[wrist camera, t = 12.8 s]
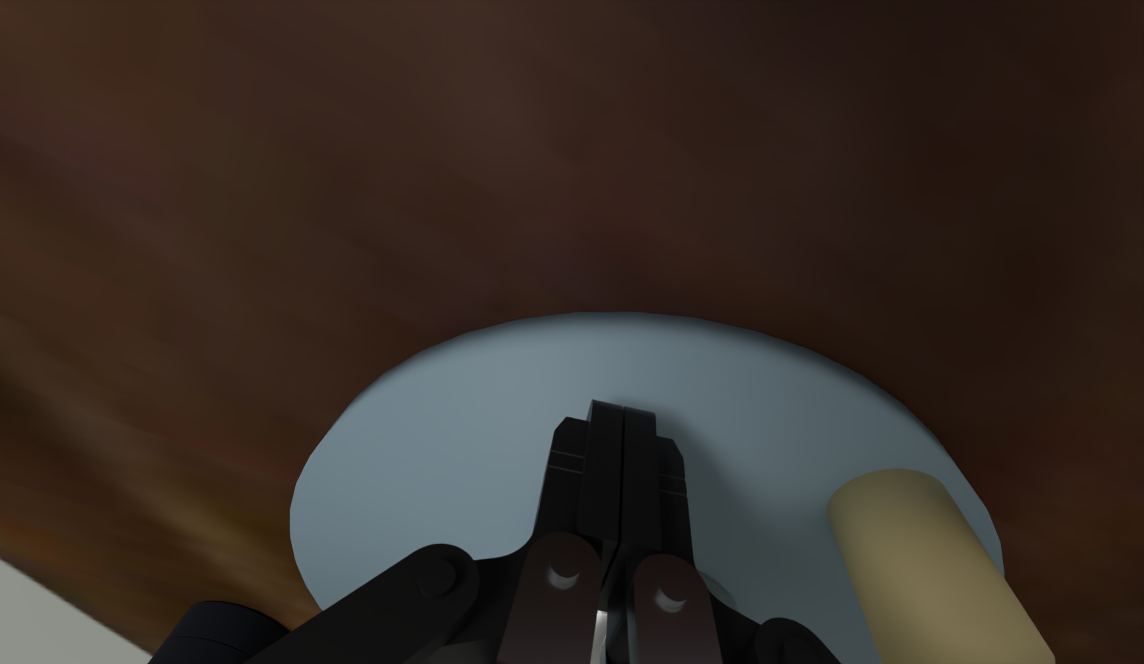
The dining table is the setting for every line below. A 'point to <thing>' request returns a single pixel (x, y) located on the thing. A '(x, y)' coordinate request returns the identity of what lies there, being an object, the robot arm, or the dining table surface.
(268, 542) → the dining table surface
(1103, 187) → the dining table surface
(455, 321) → the dining table surface
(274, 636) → the black bottle
